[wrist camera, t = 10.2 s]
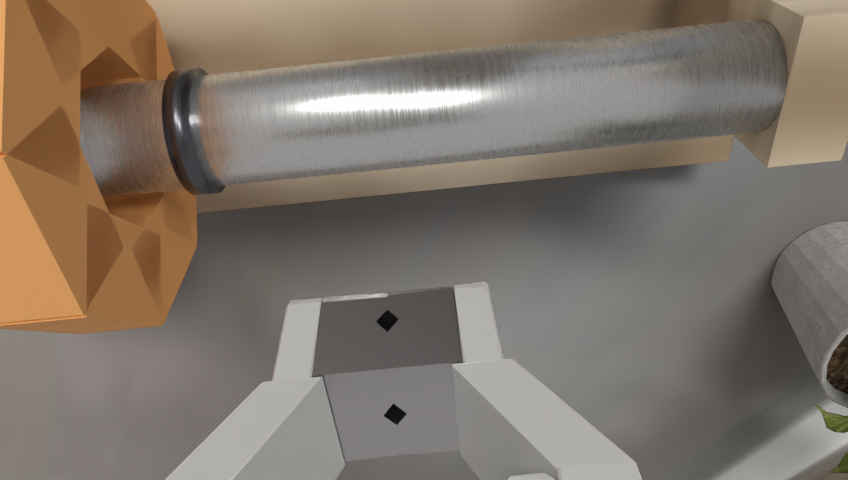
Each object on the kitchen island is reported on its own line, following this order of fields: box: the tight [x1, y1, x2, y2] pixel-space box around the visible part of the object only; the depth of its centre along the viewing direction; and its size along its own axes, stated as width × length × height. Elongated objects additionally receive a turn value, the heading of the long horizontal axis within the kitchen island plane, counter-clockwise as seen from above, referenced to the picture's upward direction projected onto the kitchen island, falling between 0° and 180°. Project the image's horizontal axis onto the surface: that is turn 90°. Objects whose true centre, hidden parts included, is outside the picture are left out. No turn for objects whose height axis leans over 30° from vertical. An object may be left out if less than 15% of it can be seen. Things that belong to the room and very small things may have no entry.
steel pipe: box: [80, 19, 788, 197], centre depth 17 cm, size 3×26×3 cm, turn 95°
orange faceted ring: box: [0, 0, 198, 334], centre depth 18 cm, size 10×2×10 cm, turn 5°
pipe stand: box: [146, 0, 848, 213], centre depth 20 cm, size 12×28×10 cm, turn 95°
